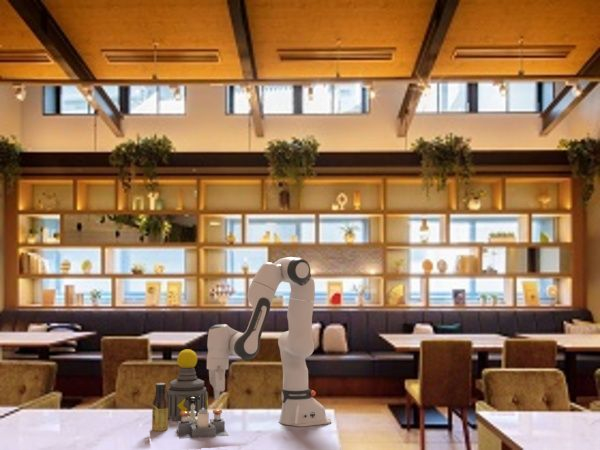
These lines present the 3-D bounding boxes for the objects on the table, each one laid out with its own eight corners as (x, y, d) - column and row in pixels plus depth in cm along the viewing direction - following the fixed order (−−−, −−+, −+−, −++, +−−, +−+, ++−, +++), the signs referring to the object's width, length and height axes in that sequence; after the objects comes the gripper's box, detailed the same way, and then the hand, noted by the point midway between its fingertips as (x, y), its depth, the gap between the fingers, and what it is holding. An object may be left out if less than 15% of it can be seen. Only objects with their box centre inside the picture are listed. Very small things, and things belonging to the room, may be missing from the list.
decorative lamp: (204, 421, 287) (204, 351, 289) (160, 421, 287) (162, 351, 290) (210, 412, 306) (211, 347, 308) (170, 412, 306) (171, 346, 308)
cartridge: (196, 432, 261) (197, 407, 261) (207, 432, 262) (208, 407, 262) (197, 435, 256) (198, 410, 257) (209, 434, 257) (209, 409, 258)
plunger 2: (221, 422, 269) (221, 409, 270) (222, 424, 266) (222, 410, 266) (212, 423, 268) (212, 409, 269) (213, 425, 265) (213, 411, 265)
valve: (197, 428, 275) (197, 398, 276) (182, 427, 277) (182, 398, 277) (202, 424, 282) (202, 395, 283) (187, 423, 283) (188, 395, 284)
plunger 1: (188, 424, 266) (189, 410, 266) (189, 426, 262) (189, 412, 263) (179, 425, 265) (180, 411, 265) (180, 427, 262) (180, 413, 262)
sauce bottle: (153, 431, 269) (153, 382, 270) (168, 431, 269) (169, 381, 271) (150, 435, 262) (151, 384, 264) (166, 435, 263) (167, 384, 264)
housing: (223, 430, 271) (223, 418, 271) (228, 439, 256) (228, 426, 257) (176, 433, 266) (176, 420, 266) (179, 442, 252) (179, 429, 252)
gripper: (229, 367, 259) (228, 403, 258) (221, 361, 279) (221, 394, 278) (213, 368, 258) (212, 404, 257) (207, 361, 278) (206, 394, 276)
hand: (216, 399), depth 268 cm, fingers closed
